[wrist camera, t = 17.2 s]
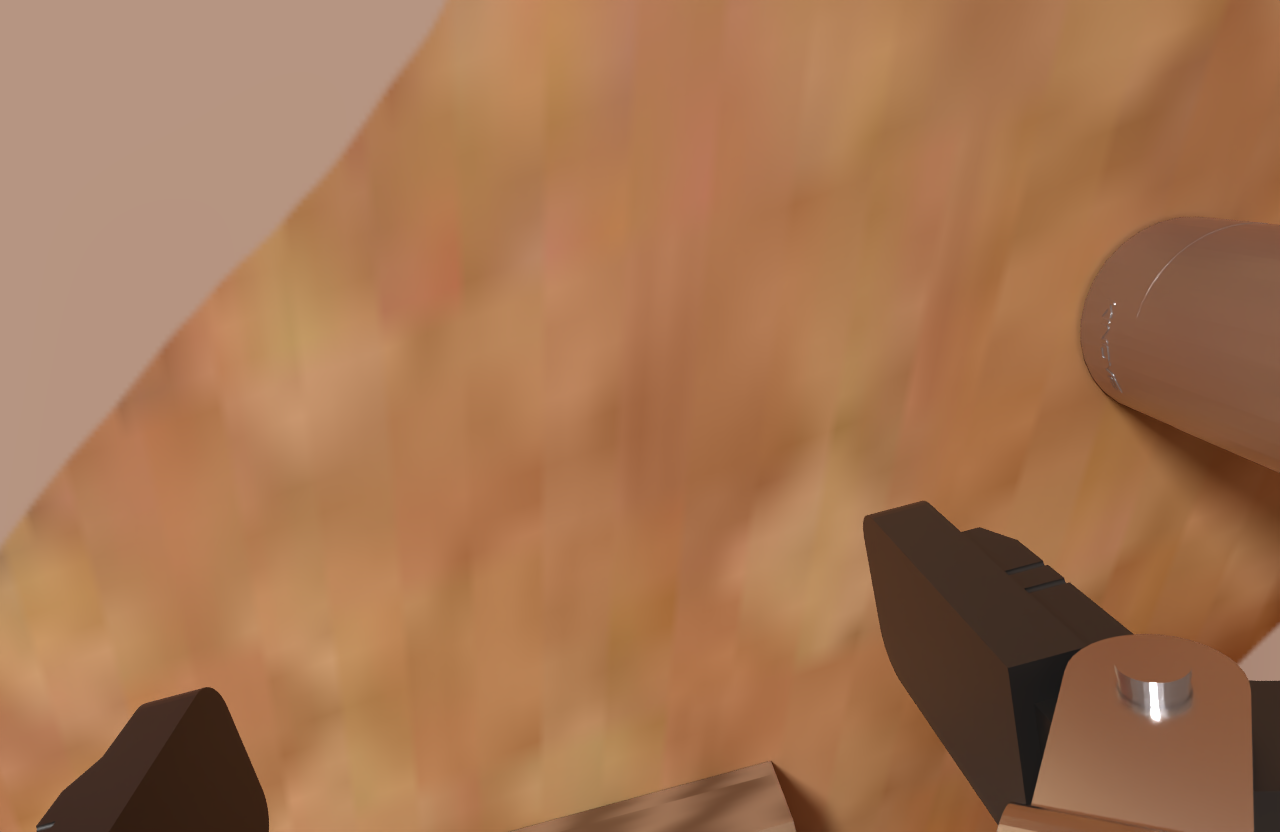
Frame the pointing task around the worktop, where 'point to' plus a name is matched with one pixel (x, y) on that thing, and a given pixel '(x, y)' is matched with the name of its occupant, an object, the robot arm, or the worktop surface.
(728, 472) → the worktop surface
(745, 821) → the slot rack
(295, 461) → the worktop surface
